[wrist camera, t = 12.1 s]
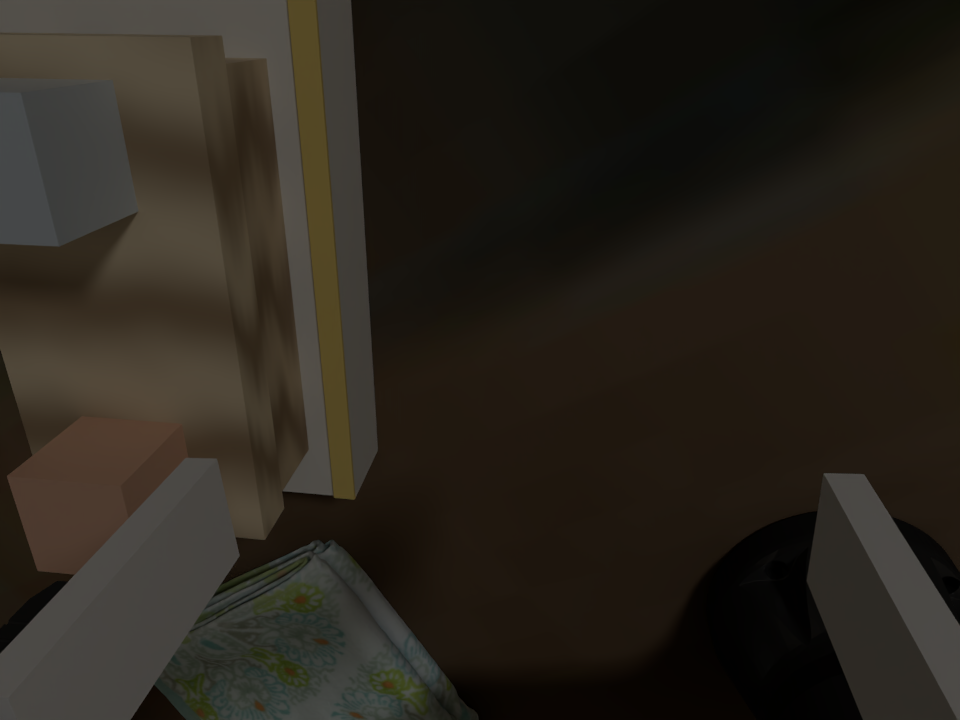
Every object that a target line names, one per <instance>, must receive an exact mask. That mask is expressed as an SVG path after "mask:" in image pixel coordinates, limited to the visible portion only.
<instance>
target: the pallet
mask: <svg viewBox="0 0 960 720" xmlns="http://www.w3.org/2000/svg"><path fill="white" fill-rule="evenodd" d="M0 78H34V79H86V80H113V84H114V89H115V94H116V99H117V105H118V110H119V115H120V120H121V125H122V130H123V135H124V140H125V145H126V150H127V155H128V160H129V165H130V170H131V176H132V181H133V186H134V191H135V196H136V201H137V206H138V212H136V213H134V214H132V215H129V216H127V217H125V218H122V219H120V220H118V221H116V222H113V223H111V224H109V225H107V226H104V227H102V228H100V229H98V230H95V231H93V232H91V233H89V234H86V235H84V236H82V237H80V238H77V239H75V240H73V241H71V242H68V243H66V244H64V245H61V246H59V247H58V246H37V245H16V244H0V349H1V353H2V356H3V359H4V363H5V366H6V369H7V372H8V376H9V379H10V382H11V386H12V389H13V392H14V396H15V399H16V402H17V405H18V409H19V412H20V415H21V419H22V422H23V425H24V429H25V432H26V435H27V439H28V442H29V445H30V448H31V452H32V455H34V454H35V453H37V452H38V451H39V450H40V449H42V448H43V447H44V446H45V445H47V444H48V443H49V442H50V441H52V440H53V439H54V438H55V437H57V436H58V435H59V434H60V433H62V432H63V431H64V430H65V429H67V428H68V427H69V426H70V425H72V424H73V423H74V422H75V421H77V420H78V419H79V418H80V417H81V416H86V417H100V418H113V419H126V420H139V421H152V422H165V423H179V424H182V427H183V432H184V437H185V442H186V448H187V453H188V458H213V459H217V461H218V465H219V469H220V474H221V478H222V482H223V487H224V491H225V495H226V500H227V504H228V508H229V512H230V517H231V521H232V525H233V530H234V534H235V537H240V538H250V539H261V540H265V539H266V537H267V536H268V534H269V532H270V531H271V529H272V527H273V526H274V524H275V522H276V521H277V519H278V518H279V516H280V514H281V513H282V511H283V509H284V503H283V495H282V491H283V490H284V488H285V486H286V485H287V483H288V482H289V480H290V479H291V477H292V475H293V474H294V472H295V471H296V469H297V467H298V466H299V464H300V463H301V461H302V460H303V458H304V456H305V455H306V453H307V452H308V450H309V446H308V436H307V427H306V418H305V409H304V400H303V390H302V381H301V372H300V363H299V354H298V344H297V335H296V326H295V317H294V308H293V298H292V289H291V280H290V271H289V262H288V252H287V243H286V234H285V225H284V216H283V206H282V197H281V188H280V179H279V170H278V160H277V151H276V142H275V133H274V124H273V114H272V105H271V96H270V87H269V78H268V68H267V59H266V58H225V53H224V46H223V38H222V36H217V35H145V34H74V33H2V32H0Z"/></svg>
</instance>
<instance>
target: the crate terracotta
mask: <svg viewBox="0 0 960 720" xmlns="http://www.w3.org/2000/svg"><path fill="white" fill-rule="evenodd" d="M185 458H188V453H187V448H186V442H185V437H184V432H183V427H182V424H179V423H165V422H152V421H139V420H126V419H113V418H100V417H86V416H81V417H80V418H79V419H78V420H77V421H75V422H74V423H73V424H72V425H70V426H69V427H68V428H67V429H65V430H64V431H63V432H62V433H60V434H59V435H58V436H57V437H55V438H54V439H53V440H52V441H50V442H49V443H48V444H47V445H45V446H44V447H43V448H42V449H40V450H39V451H38V452H37V453H35V454H34V455H33V456H32V457H30V458H29V459H28V460H27V461H25V462H24V463H23V464H22V465H20V466H19V467H18V468H17V469H15V470H14V471H13V472H12V473H10V474H9V475H8V476H7V478H8V481H9V484H10V487H11V490H12V494H13V497H14V500H15V503H16V506H17V509H18V512H19V515H20V518H21V521H22V524H23V527H24V530H25V533H26V536H27V540H28V543H29V546H30V549H31V552H32V555H33V558H34V561H35V564H36V567H37V570H38V571H45V572H55V573H65V574H74V575H75V574H76V573H77V572H78V571H79V570H80V569H81V568H82V567H83V566H84V565H85V564H86V563H87V562H88V560H89V559H90V558H91V557H92V556H93V555H94V554H95V553H96V552H97V551H98V550H99V549H100V548H101V547H102V546H103V545H104V544H105V543H106V541H107V540H108V539H109V538H110V537H111V536H112V535H113V534H114V533H115V532H116V531H117V530H118V529H119V528H120V527H121V526H122V525H123V524H124V522H125V521H126V520H127V519H128V518H129V517H130V516H131V515H132V514H133V513H134V512H135V511H136V510H137V509H138V508H139V507H140V506H141V505H142V504H143V502H144V501H145V500H146V499H147V498H148V497H149V496H150V495H151V494H152V493H153V492H154V491H155V490H156V489H157V488H158V487H159V486H160V485H161V483H162V482H163V481H164V480H165V479H166V478H167V477H168V476H169V475H170V474H171V473H172V472H173V471H174V470H175V469H176V468H177V467H178V466H179V464H180V463H181V462H182V461H183V460H184V459H185Z"/></svg>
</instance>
